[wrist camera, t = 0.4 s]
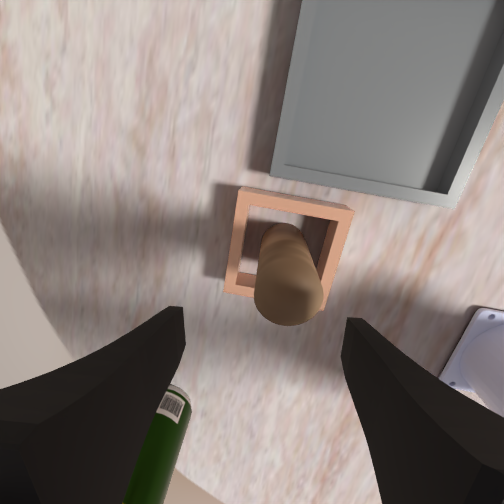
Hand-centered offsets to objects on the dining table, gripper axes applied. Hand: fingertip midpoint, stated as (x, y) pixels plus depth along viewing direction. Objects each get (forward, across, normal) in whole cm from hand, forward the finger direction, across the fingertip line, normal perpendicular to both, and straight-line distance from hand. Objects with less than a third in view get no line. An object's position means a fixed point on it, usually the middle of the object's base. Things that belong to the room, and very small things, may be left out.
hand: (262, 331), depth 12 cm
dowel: (+10, -1, -1) cm, 10 cm away
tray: (+10, -7, -11) cm, 16 cm away
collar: (+10, -1, -1) cm, 10 cm away
